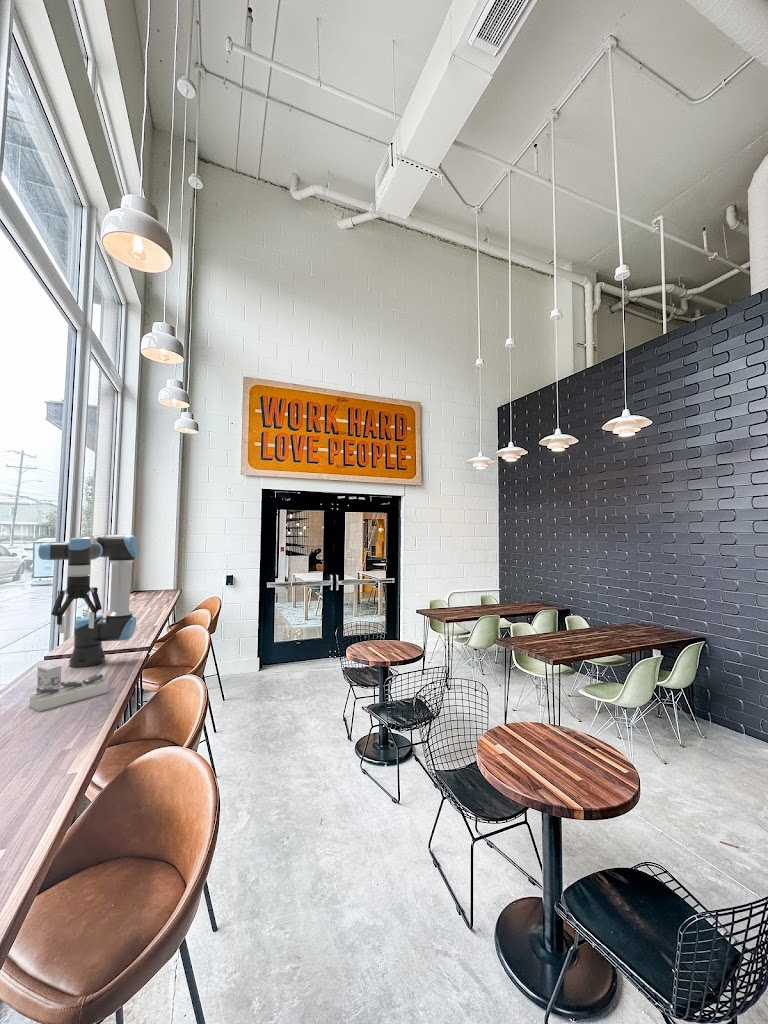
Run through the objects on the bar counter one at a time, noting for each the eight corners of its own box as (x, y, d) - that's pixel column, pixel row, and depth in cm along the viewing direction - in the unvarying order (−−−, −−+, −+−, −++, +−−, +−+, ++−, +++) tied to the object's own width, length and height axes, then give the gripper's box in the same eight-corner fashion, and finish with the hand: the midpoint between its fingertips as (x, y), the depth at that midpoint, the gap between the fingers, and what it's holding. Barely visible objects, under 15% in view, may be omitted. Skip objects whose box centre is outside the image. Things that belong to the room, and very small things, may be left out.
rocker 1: (53, 690, 173) (54, 687, 173) (57, 692, 171) (59, 688, 171) (36, 691, 168) (37, 687, 168) (40, 693, 166) (41, 689, 166)
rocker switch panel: (98, 688, 188) (98, 677, 188) (108, 692, 184) (108, 680, 184) (29, 706, 168) (30, 694, 168) (38, 711, 163) (39, 698, 164)
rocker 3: (98, 675, 186) (98, 672, 186) (103, 677, 184) (102, 674, 184) (83, 683, 181) (82, 680, 181) (87, 684, 179) (86, 681, 179)
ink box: (35, 695, 179) (37, 665, 180) (49, 691, 184) (51, 662, 184) (47, 699, 175) (48, 668, 176) (61, 695, 180) (62, 665, 180)
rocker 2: (76, 684, 179) (77, 681, 180) (81, 686, 177) (82, 683, 178) (60, 685, 174) (61, 681, 175) (64, 687, 172) (65, 683, 173)
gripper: (103, 573, 194) (101, 624, 193) (42, 577, 175) (39, 634, 174) (112, 574, 190) (110, 626, 189) (50, 578, 171) (48, 636, 170)
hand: (76, 630), depth 182 cm, fingers open, 10 cm apart
